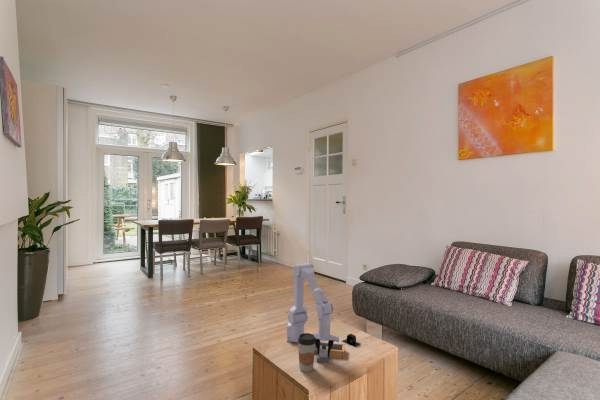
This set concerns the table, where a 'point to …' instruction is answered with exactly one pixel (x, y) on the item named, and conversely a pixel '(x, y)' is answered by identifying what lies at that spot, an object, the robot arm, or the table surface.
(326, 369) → the table surface
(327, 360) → the gray square block
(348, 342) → the black boxy piece
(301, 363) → the coffee cup
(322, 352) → the metal block
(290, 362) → the table surface
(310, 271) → the robot arm
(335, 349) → the rail
